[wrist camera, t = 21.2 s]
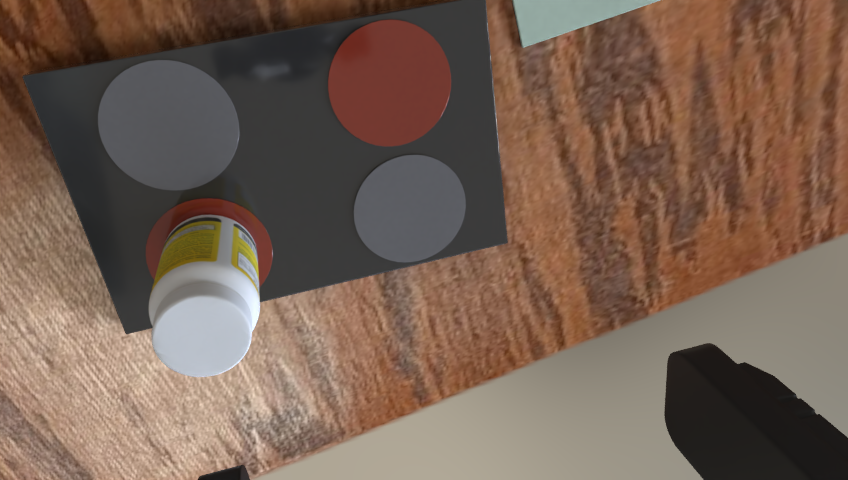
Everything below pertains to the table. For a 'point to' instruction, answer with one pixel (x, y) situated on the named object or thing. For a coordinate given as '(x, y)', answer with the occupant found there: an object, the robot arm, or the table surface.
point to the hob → (286, 147)
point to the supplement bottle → (205, 296)
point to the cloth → (565, 15)
